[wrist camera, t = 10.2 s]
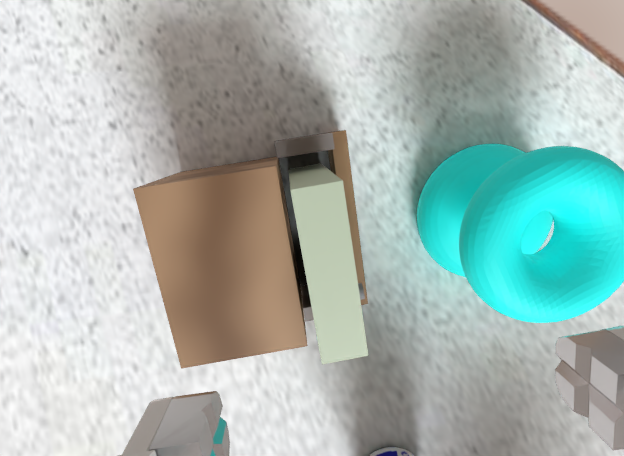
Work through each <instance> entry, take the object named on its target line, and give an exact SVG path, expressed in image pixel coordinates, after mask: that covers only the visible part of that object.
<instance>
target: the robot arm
mask: <svg viewBox="0 0 624 456" xmlns="http://www.w3.org/2000/svg"><path fill="white" fill-rule="evenodd" d="M556 354H557V356H558V357H559V358H560V359H561V360H562V361H561V362H560V364H559V365H558V367H557V368H556V369H555V379H556V385H557V388H558V390H559V393H560V395H561V397H562V398H563V400H564V401H565V403H566V404H567V405H568V406H569V407H570V408H571V409H572V410H573V411H574V412H576V413H578V414H581V415H583V416H585V417H587V418H588V425H589V427H590V428H591V429H592V430H593V431H594V432H595V433H596V434H597V435H598V436H599V437H600V438H601V439H602V440H603V441H604V442H605V443H606V444H607V445H608V446H609V447H610V448H611V449H612V450H619V449H624V326H618V327H613V328H608V329H602V330H600V331H594V332H588V333H583V334H577V335H571V336H565V337H559V338H558V340H557V342H556ZM222 407H223V406H222V402H221V398H220V395H219V393H218V392H217V391H213V392H206V393H199V394H191V395H184V396H176V397H169V398H163V399H157V400H153V401H152V402H150V403H149V405H148V407H147V409H146V410H145V412H144V414H143V416H142V418H141V420H140V422H139V424H138V425H137V427H136V429H135V431H134V433H133V435H132V437H131V439H130V441H129V442H128V444H127V446H126V448H125V450H124V452H123V454H122V455H119V456H229V449H230V440H229V431H228V427H227V422H226V421H225V420H223V419H222V418H221V417H220V415H221V411H222Z"/></svg>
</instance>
